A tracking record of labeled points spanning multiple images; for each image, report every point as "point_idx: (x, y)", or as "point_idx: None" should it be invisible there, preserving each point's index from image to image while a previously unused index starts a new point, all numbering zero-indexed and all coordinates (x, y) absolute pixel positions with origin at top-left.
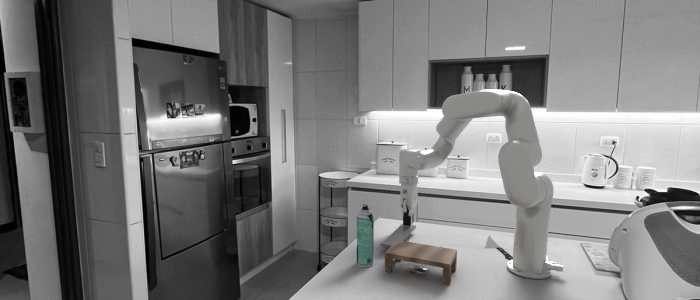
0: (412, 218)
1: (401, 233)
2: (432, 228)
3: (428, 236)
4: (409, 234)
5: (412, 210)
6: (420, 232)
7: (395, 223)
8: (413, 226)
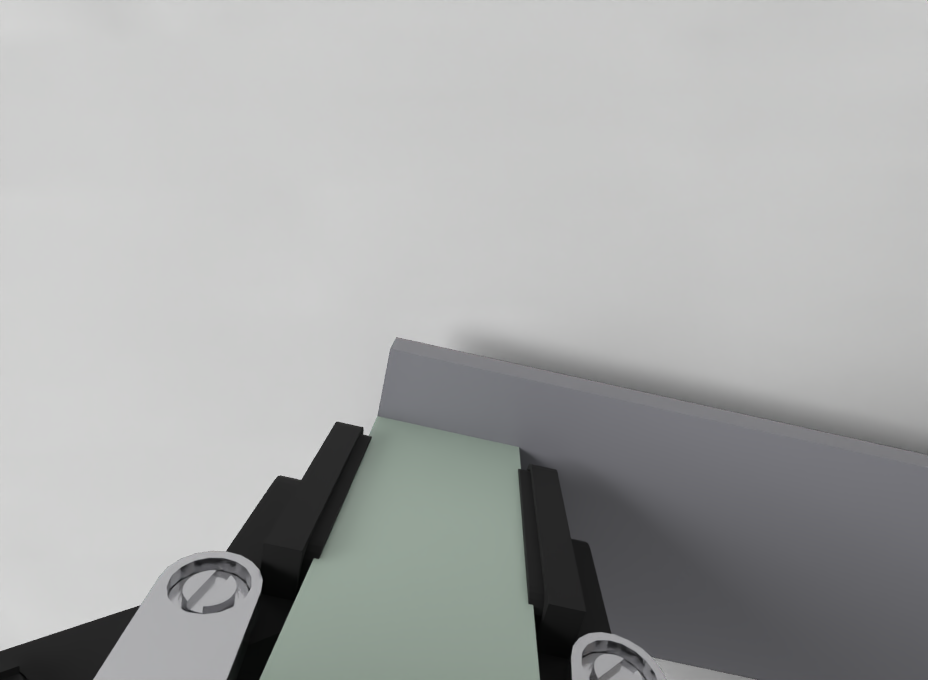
0: (352, 492)
1: (888, 576)
2: (74, 24)
3: (527, 93)
4: (839, 438)
5: (292, 666)
6: (358, 240)
7: (72, 615)
8: (454, 396)
